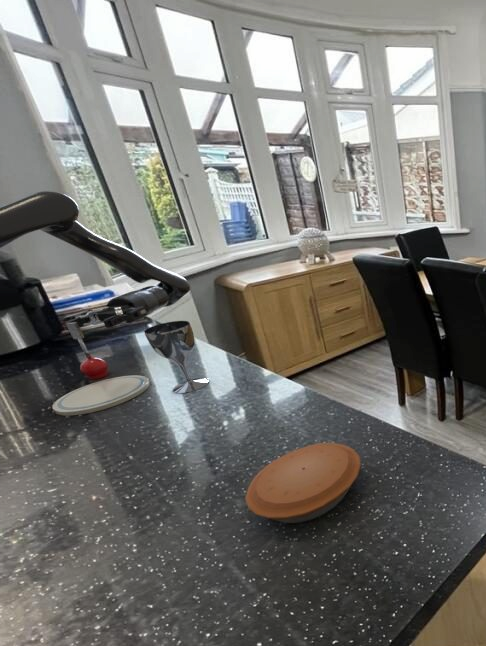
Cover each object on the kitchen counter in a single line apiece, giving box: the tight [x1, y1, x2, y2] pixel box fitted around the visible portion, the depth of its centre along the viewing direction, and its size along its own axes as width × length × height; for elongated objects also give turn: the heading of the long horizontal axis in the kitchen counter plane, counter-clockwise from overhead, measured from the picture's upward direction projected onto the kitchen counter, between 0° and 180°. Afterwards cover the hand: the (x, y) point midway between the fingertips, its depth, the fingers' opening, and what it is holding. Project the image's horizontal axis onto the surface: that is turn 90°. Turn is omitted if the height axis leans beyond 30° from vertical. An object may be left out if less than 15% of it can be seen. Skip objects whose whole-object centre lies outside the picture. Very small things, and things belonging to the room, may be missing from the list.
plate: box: [51, 374, 151, 417], centre depth 90 cm, size 16×16×1 cm
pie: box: [244, 442, 362, 524], centre depth 59 cm, size 15×16×5 cm
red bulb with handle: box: [66, 322, 109, 381], centre depth 96 cm, size 5×5×14 cm
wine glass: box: [143, 320, 210, 394], centre depth 90 cm, size 8×8×15 cm
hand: (87, 325), depth 98 cm, fingers open, 8 cm apart
